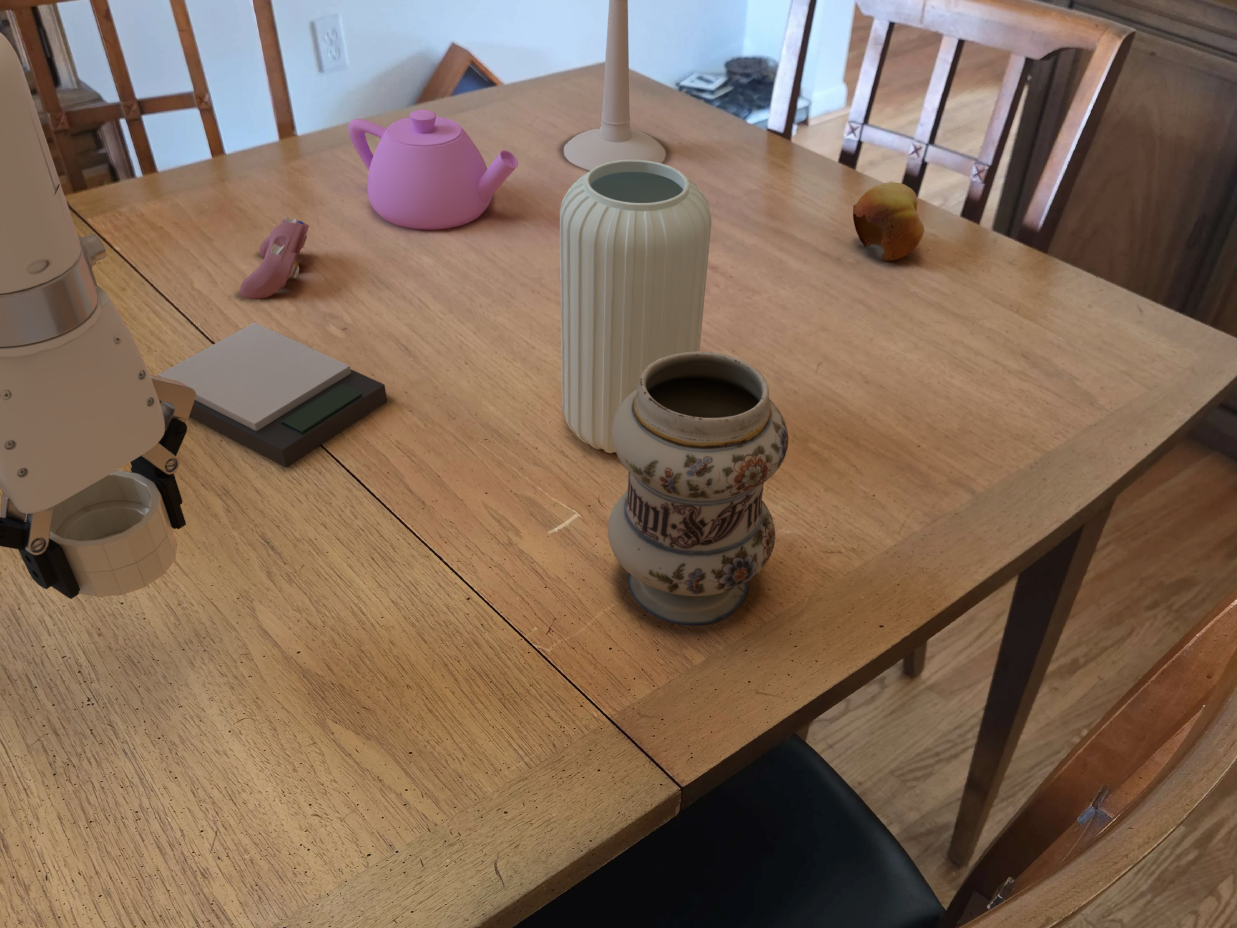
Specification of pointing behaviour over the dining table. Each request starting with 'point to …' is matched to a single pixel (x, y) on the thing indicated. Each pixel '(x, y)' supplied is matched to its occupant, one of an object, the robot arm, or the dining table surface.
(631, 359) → the vase
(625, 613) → the dining table surface
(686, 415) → the apothecary jar
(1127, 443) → the dining table surface
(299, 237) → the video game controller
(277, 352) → the scale
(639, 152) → the candlestick
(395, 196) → the teapot
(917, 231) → the fruit
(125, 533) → the ring
